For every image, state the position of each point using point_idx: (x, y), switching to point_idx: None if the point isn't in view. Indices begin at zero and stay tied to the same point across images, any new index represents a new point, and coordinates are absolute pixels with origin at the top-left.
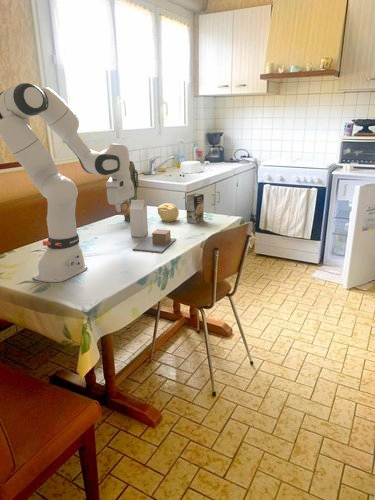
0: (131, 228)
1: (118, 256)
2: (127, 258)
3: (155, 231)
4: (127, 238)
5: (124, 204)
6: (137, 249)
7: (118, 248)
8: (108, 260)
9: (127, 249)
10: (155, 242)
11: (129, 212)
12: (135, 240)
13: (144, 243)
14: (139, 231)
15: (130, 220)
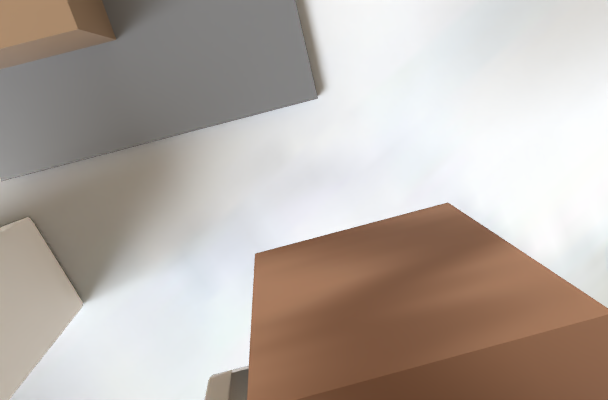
0: (49, 338)
1: (458, 101)
2: (467, 16)
3: (5, 32)
4: (132, 300)
5: (595, 336)
6: (307, 54)
7: (332, 209)
8: (541, 109)
9: (319, 141)
10: (103, 8)
11: (282, 252)
12: (130, 223)
13: (170, 91)
14: (23, 267)
15: (8, 397)
